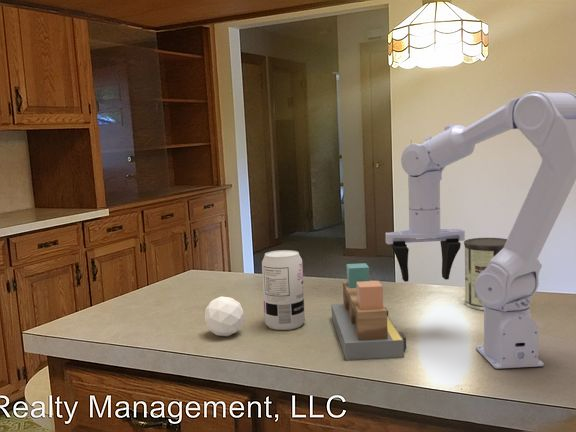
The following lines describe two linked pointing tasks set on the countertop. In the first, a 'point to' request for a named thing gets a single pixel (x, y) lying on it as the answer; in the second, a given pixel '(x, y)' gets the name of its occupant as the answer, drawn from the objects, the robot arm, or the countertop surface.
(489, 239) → the coffee can
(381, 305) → the terracotta brick
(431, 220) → the robot arm
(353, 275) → the teal crate
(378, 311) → the brown long bar
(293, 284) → the supplement can
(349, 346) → the dock
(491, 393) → the countertop surface
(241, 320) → the ball
